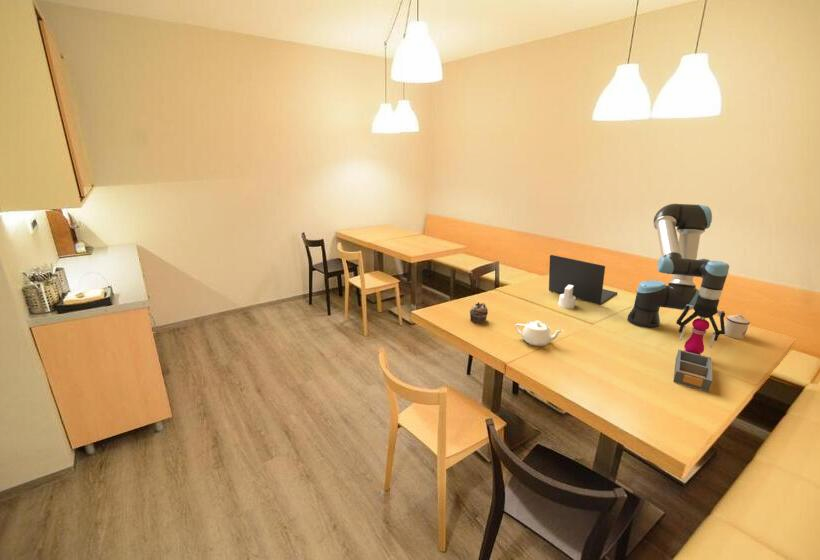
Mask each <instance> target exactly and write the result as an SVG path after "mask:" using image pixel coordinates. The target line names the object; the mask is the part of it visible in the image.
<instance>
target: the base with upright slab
mask: <svg viewBox="0 0 820 560" xmlns="http://www.w3.org/2000/svg"><path fill="white" fill-rule="evenodd" d="M573 287H574V286H573V285H568V286H567V287H566V288H565V290H564V294H559V299H558V303H557V305H558V307H560V308H563V309H567V310H568V309H569V310H570V309H571V310H572V309H574V308H575V305H576V299H577V298H576V297H575V296H573V295H572V293H573Z"/></svg>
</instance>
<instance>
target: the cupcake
mask: <svg viewBox="0 0 820 560" xmlns="http://www.w3.org/2000/svg"><path fill="white" fill-rule="evenodd" d="M469 317H470V321H471V322H473V323H474V324H477V323H478V324H483V323H485V322H486V320H487V317H488V307H487V306H486V303H485V302H481V303H480V302H477V303H475V304H474V305H473V306H472V307H471V309H470V310H469Z"/></svg>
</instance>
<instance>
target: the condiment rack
mask: <svg viewBox="0 0 820 560" xmlns="http://www.w3.org/2000/svg"><path fill="white" fill-rule="evenodd" d="M675 361H676V362H675V364H674V372H673V383H676V384H680V385H683V386H686V387H689V388H694V389H697V390H701V391H704V392H706V393H709V392H710V390H711V387H712V384H713V373H712V372H713V371H712V358H711V357H710V356H707V355H702V354H701V355H699V354H695V353H691V352H687V351H684V350H682V349H678V350H677V353H676V356H675Z"/></svg>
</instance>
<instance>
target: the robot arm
mask: <svg viewBox="0 0 820 560" xmlns="http://www.w3.org/2000/svg"><path fill="white" fill-rule="evenodd" d="M712 220H713V214H712V209H711V208H710V207H709V206H708V205H702V204H691V203H690V204H687V203H685V204H684V203H670V204H667V205H664V206H663V207H661V208H660V209H659V210H658V211H657V212H656V213H655V215H654V218H653V226H654V229H656V231H657V236H658V242H659V246H660V247H659V248H660V254H661V257H660V258H659V259H658V261H657V271H658V272H659V273H662V274H667V275H672V279H671V280H670V281H668V284H667V285H666V283H665V282H663V281H658V280H654V279H653V280H652V279H651V280H644V281H640V282H639V284H638V287H637V289H636V296H635V300H634V304H633V308H632V309H631V311H630V312H629V313H628V314H627V318H626V319H627V322H628V323H629V324H631V325H634V326H637V327H639V328H645V329H658V328H659V327H660V324H661V319H660V314H659V313H660V308H666V309H672V310H680V311H682V313H681V314H680V316H679V317H678V318H677V320H676V322H675V323H676V325H678V326H679V328H678V329H679V330H678V333H680V337H679V341H681V342H682V341H683V338H684V335H685V330H686V325H688V324H689V323H690V322H691V321H694V320H695V319H696V318H697V317H699V318H700V317H705V319H709V320H710V323H711V325H712V327H713V330H714V331H712V335H711V338H710V342H709V344H708V345H709V348H710V349H712V347H713V346H714V345H713V344H714V342H717V341H718V339H719V336H720V335H724V334H725V319H724V318H725V316H726V312H725V311H724V310H722V311H721V310H718V307H719V303H720V299H721V296H722V292H723V289H724V287H725V284H726V280H727V277H728V275H729V270H730V265H729V264H728V263H727V262H723V261H721V260H720V261H719V260H710V259H707V258H700V259H697V257H698V250H699V246H700V245H699V244H700V239H701V235H702V234H703V233H705V231H706V230H707V229H709V228H710V227H711V224H712ZM677 232H678V234H679V237H678V234H677ZM694 277H696V278H701V279H702V280H701V282H700V283H701V284H700V288H699V289H698V288H696V284H695V282H693V281H694ZM692 310H693V311H694V312H692V314H691V315H689V316H688V317H687V318H685V317H686V315H688V313H689V311H692ZM716 314H717V315H718V316H719V320H720V321H719V322H720V330H719V328H718V325H717V323H716V320H715V318H714V316H715V315H716ZM684 318H685V319H684ZM683 319H684V320H683ZM693 319H694V320H693ZM724 336H725V335H724Z"/></svg>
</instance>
